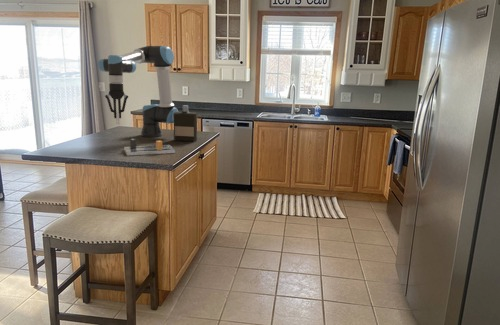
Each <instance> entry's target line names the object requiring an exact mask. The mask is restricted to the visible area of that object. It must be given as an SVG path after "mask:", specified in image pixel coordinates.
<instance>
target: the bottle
mask: <svg viewBox="0 0 500 325" xmlns="http://www.w3.org/2000/svg"><path fill="white" fill-rule="evenodd" d="M197 140H198V113H197V112H190V111H189V105H187V104H186V105H185V104H184V105H182V111H178V112H175V113H174V123H173V141H174V142H191V143H195V142H196V141H197Z"/></svg>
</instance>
